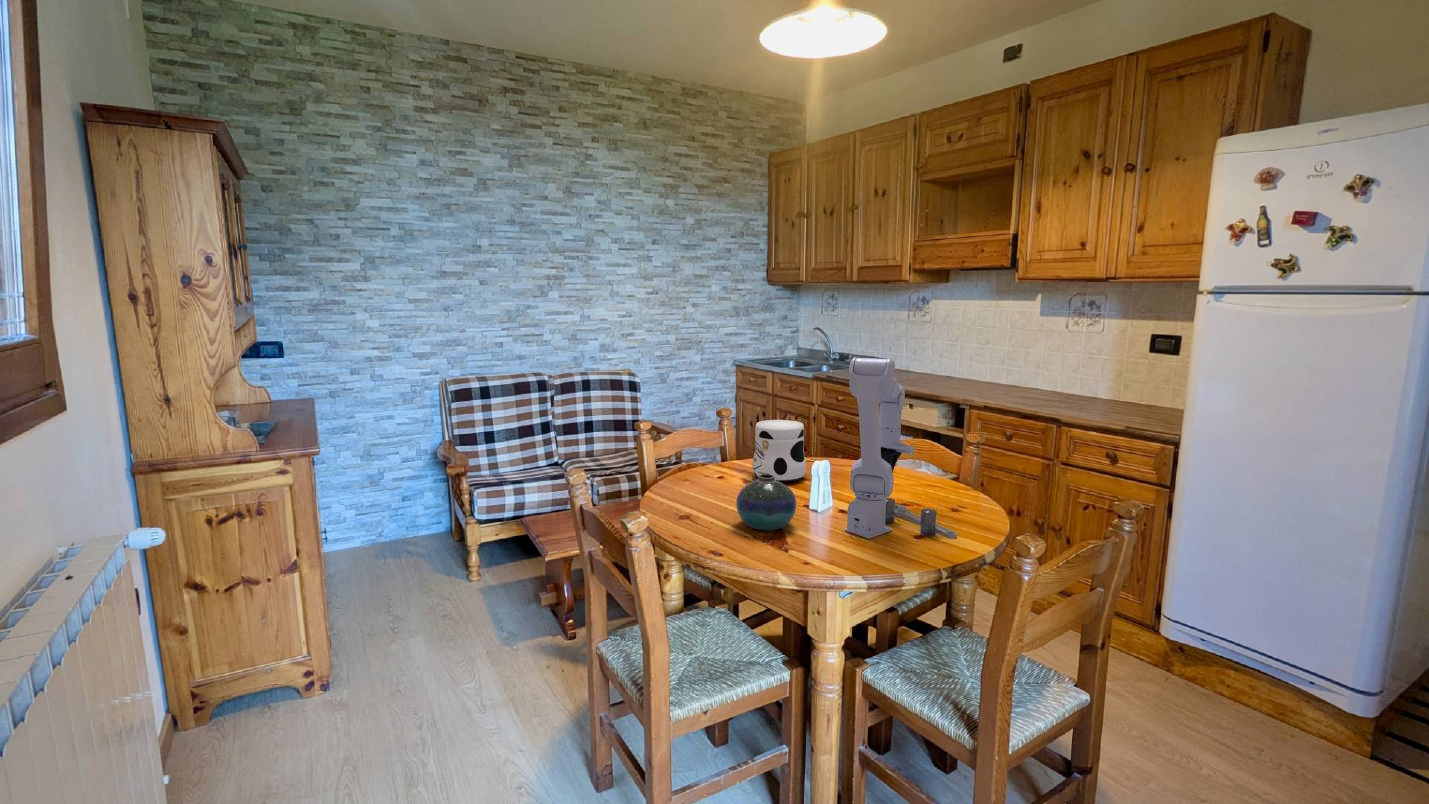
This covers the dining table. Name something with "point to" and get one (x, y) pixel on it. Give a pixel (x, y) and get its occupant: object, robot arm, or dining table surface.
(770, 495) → the vase
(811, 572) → the dining table surface
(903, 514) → the adjustable wrench
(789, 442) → the milk container
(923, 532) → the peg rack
